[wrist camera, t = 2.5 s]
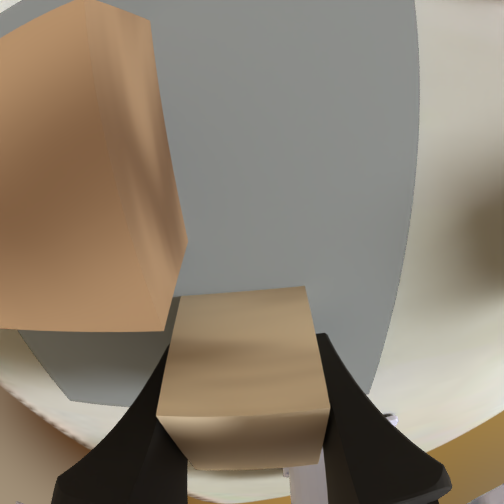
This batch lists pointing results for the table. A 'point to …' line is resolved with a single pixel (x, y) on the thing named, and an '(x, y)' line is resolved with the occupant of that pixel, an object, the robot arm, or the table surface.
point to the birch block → (245, 381)
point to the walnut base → (85, 176)
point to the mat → (272, 170)
